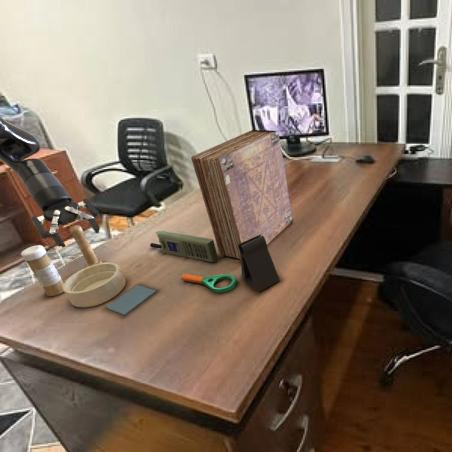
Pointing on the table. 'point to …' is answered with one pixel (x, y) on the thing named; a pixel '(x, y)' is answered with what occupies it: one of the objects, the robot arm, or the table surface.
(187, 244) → the handheld radio
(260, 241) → the phone stand
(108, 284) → the bowl
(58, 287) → the sprinkles bottle
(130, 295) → the rest mat
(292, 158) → the table surface
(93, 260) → the wooden pestle
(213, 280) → the magnifying glass
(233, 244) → the book
